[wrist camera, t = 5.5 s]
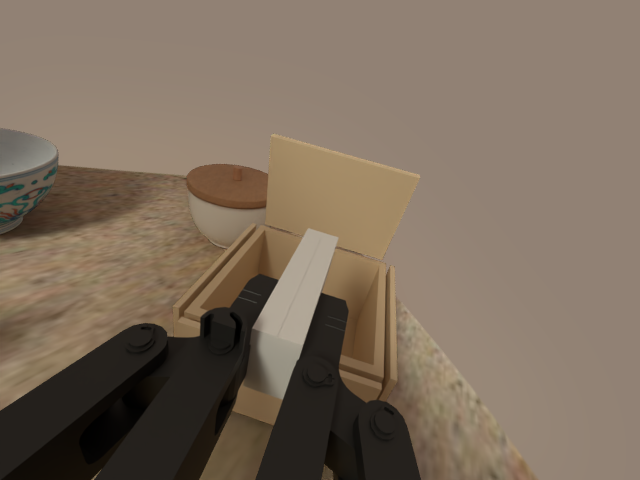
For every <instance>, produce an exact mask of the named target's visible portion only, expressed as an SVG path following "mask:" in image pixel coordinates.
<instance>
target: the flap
mask: <svg viewBox="0 0 640 480" xmlns="http://www.w3.org/2000/svg"><path fill="white" fill-rule="evenodd" d="M419 179H420V175H417V174H414V173H411V172H407V171H403V170H400V169H397V168H393V167H390V166H386V165H383V164H379V163H375V162H372V161H369V160H365V159H361V158H358V157H354V156H351V155H347V154H344V153H340V152H337V151H333V150H330V149H326V148H323V147H319V146H315V145H312V144H308V143H305V142H301V141H298V140H294V139H291V138H287V137H284V136H280V135H277V134H273V135H272V136H271V143H270V158H269V173H268V188H267V203H266V218H265V224H266V225H269V226H272V227H276V228H279V229H282V230H285V231H289V232H292V233H295V234H298V235H302V236H304V235H305V233H306V231H307V229H308V228H309V229H313V230H316V231H319V232H323V233H326V234H329V235H332V236H336V237H339V238H338V242H337V245H336V246H338V247H341V248H344V249H348V250H351V251H354V252H357V253H361V254H364V255H367V256H371V257H374V258H377V259H380V260H382V259H383V257H384V255H385V253H386V251H387V249H388V246H389V244H390V242H391V240H392V238H393V235H394V233H395V231H396V229H397V227H398V225H399V223H400V220H401V218H402V216H403V214H404V211H405V210H406V207H407V205H408V203H409V201H410V199H411V196H412V194H413V192H414V190H415V188H416V185H417V184H418V181H419Z"/></svg>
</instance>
